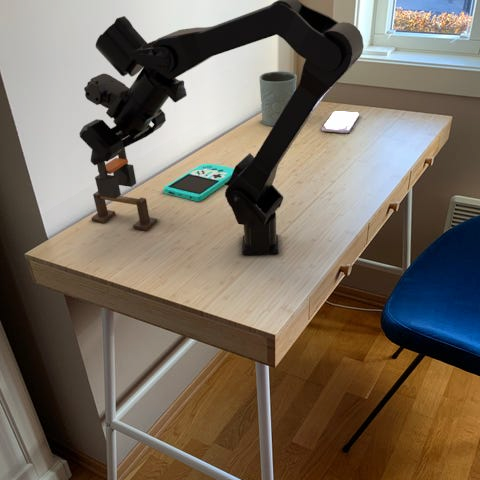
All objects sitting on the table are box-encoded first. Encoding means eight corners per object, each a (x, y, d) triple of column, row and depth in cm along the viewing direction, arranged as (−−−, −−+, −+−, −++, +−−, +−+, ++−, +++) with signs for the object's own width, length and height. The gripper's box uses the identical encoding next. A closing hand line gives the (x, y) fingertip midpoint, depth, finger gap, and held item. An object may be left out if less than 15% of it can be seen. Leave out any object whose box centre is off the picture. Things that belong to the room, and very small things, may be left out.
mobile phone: (360, 112, 148) (349, 130, 137) (359, 115, 149) (348, 133, 138) (333, 110, 151) (320, 127, 140) (333, 113, 151) (320, 131, 140)
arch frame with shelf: (115, 198, 99) (104, 146, 93) (99, 196, 100) (86, 144, 94) (136, 183, 104) (127, 132, 98) (120, 181, 105) (110, 130, 99)
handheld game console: (240, 174, 121) (240, 168, 121) (200, 202, 111) (199, 196, 110) (204, 166, 126) (204, 161, 125) (162, 193, 116) (161, 187, 115)
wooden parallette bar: (157, 221, 105) (153, 196, 102) (146, 231, 102) (142, 205, 99) (103, 212, 110) (97, 187, 106) (92, 221, 107) (85, 196, 103)
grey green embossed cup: (277, 113, 154) (277, 69, 147) (303, 120, 148) (304, 74, 141) (252, 122, 149) (251, 77, 142) (278, 130, 143) (278, 83, 136)
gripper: (141, 46, 93) (102, 106, 103) (74, 73, 79) (38, 139, 90) (185, 96, 95) (143, 150, 105) (128, 130, 82) (86, 188, 92)
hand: (105, 155), depth 98 cm, fingers closed on arch frame with shelf, 7 cm apart
